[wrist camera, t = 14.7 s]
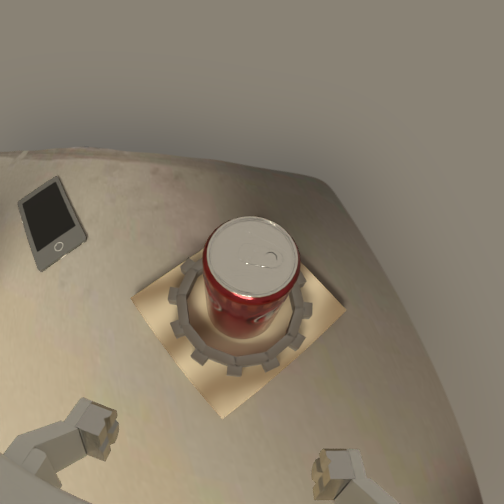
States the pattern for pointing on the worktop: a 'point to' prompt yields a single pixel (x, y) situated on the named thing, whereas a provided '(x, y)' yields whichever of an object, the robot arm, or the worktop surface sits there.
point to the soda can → (248, 275)
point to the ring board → (226, 348)
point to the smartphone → (50, 223)
